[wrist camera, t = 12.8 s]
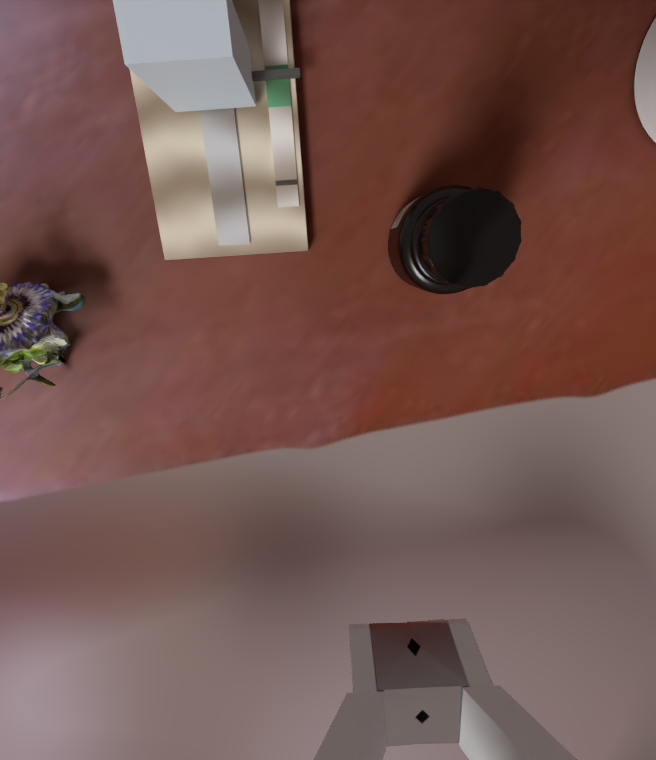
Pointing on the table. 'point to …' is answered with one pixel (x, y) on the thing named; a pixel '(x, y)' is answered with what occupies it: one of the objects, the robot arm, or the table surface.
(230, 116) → the bench
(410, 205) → the ink bottle
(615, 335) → the table surface
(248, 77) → the gauge slider
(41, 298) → the passion flower
